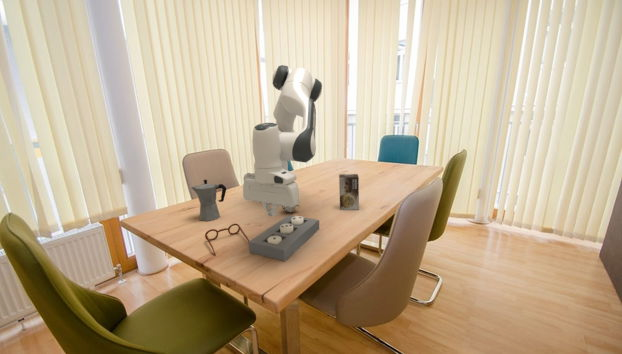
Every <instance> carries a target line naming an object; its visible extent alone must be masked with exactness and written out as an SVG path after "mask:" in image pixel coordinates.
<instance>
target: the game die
mask: <svg viewBox="0 0 622 354" xmlns="http://www.w3.org/2000/svg"><path fill="white" fill-rule="evenodd" d="M281 207H282V210H283V212H282V213H285V212H288V213H291V214H290V215H293V212H294V211H295V210H296V208H298V207H300V205H298V204H297V205H295V206H294V207H289V206H282V205H281Z"/></svg>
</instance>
